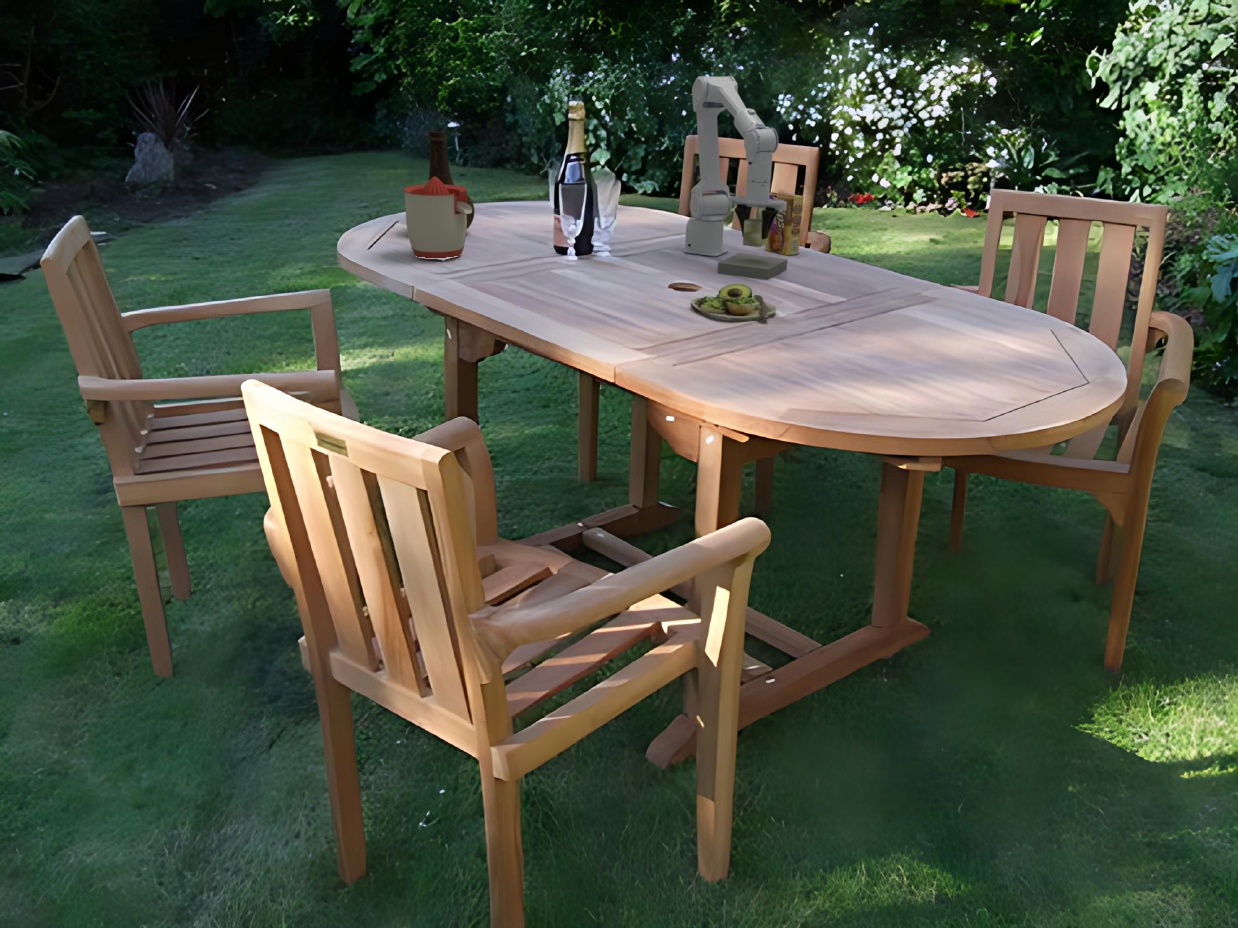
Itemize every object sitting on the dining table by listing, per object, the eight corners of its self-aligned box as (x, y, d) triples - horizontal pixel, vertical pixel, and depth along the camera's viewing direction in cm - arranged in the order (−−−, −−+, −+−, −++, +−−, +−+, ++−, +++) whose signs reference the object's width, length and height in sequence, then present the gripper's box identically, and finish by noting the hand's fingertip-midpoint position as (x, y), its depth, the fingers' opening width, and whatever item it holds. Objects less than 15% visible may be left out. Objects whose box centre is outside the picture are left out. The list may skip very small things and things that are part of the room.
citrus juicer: (455, 266, 273) (452, 183, 266) (395, 259, 279) (390, 178, 271) (486, 254, 287) (483, 175, 279) (427, 247, 293) (423, 170, 285)
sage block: (742, 245, 272) (744, 220, 270) (749, 242, 276) (751, 218, 273) (759, 247, 270) (761, 222, 268) (766, 244, 274) (768, 220, 272)
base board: (717, 272, 273) (718, 262, 272) (738, 262, 283) (739, 253, 282) (767, 279, 267) (767, 269, 266) (786, 269, 278) (787, 259, 277)
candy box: (799, 254, 294) (804, 195, 288) (788, 256, 292) (793, 197, 286) (775, 248, 301) (779, 191, 295) (764, 250, 298) (768, 192, 292)
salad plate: (798, 321, 234) (800, 300, 233) (724, 330, 228) (725, 308, 226) (751, 299, 251) (753, 279, 249) (681, 306, 244) (682, 286, 242)
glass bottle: (477, 228, 318) (474, 127, 307) (472, 241, 301) (469, 134, 290) (414, 228, 317) (408, 126, 306) (406, 240, 300) (400, 133, 289)
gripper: (724, 180, 267) (720, 236, 272) (780, 185, 260) (776, 243, 266) (735, 176, 272) (732, 232, 278) (791, 182, 266) (787, 238, 271)
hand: (754, 237), depth 272 cm, fingers closed on sage block, 4 cm apart
